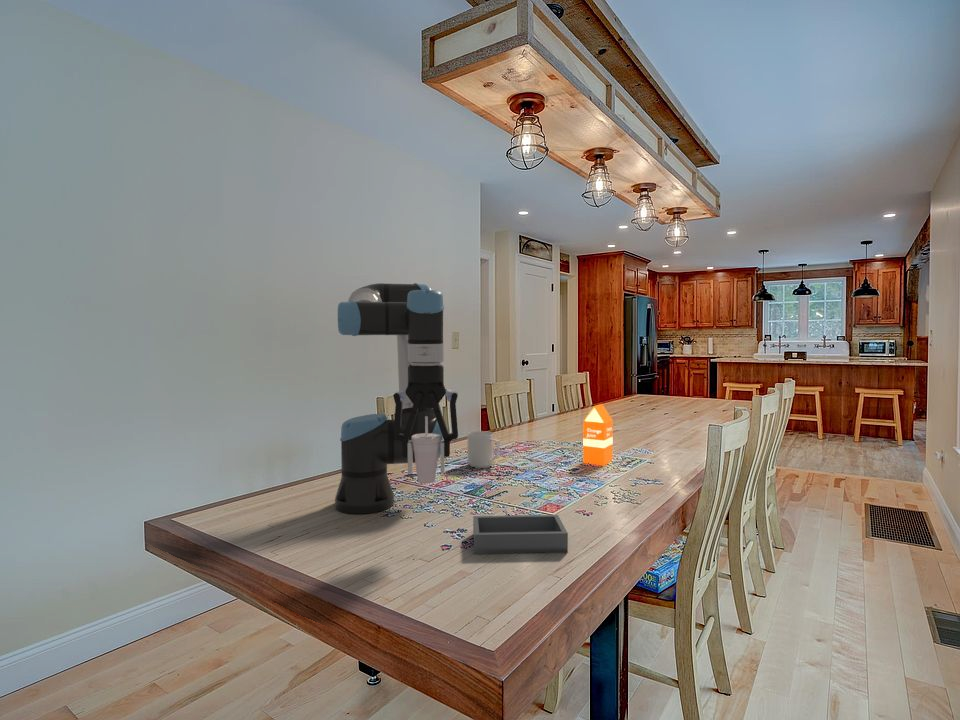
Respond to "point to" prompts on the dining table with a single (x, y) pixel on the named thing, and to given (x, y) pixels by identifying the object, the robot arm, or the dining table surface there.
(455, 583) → the dining table surface
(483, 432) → the mug
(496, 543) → the tray
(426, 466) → the smoothie
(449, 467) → the dining table surface
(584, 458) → the orange juice
